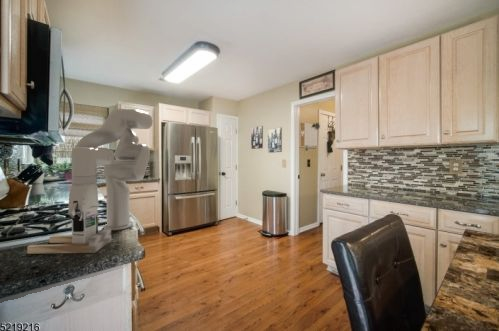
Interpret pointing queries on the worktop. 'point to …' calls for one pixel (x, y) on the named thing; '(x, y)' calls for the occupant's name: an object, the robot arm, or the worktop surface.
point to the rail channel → (72, 244)
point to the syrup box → (87, 226)
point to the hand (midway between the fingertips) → (85, 227)
